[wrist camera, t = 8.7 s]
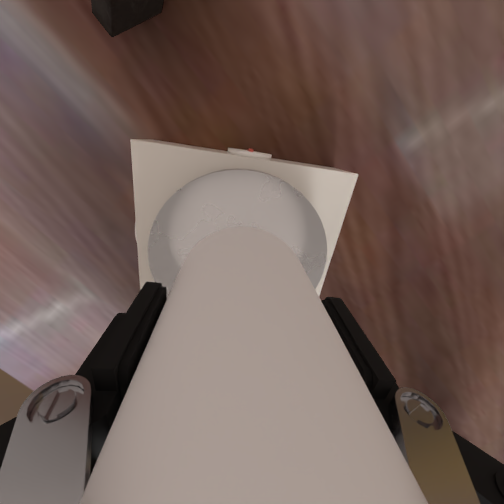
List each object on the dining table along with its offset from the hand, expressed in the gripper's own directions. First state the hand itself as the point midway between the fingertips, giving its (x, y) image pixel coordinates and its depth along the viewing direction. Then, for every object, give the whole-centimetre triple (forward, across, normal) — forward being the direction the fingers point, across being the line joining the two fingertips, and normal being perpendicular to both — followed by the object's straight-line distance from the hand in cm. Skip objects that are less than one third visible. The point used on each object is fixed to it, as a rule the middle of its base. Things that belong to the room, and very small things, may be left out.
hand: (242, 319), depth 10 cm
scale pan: (+7, 0, 0) cm, 7 cm away
